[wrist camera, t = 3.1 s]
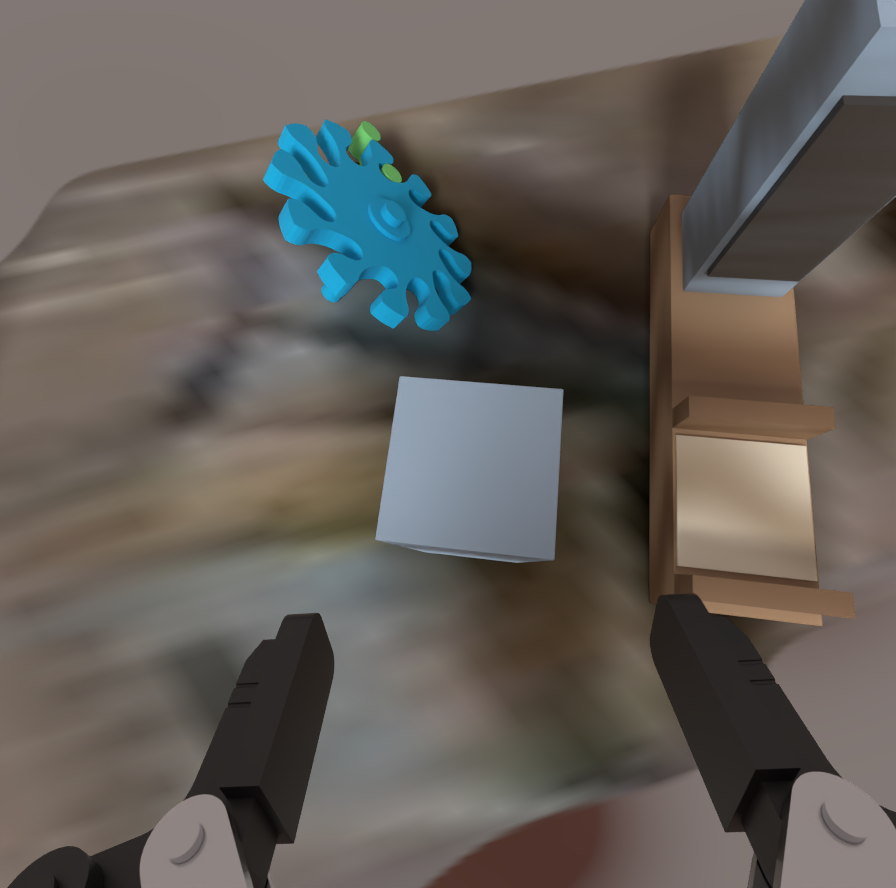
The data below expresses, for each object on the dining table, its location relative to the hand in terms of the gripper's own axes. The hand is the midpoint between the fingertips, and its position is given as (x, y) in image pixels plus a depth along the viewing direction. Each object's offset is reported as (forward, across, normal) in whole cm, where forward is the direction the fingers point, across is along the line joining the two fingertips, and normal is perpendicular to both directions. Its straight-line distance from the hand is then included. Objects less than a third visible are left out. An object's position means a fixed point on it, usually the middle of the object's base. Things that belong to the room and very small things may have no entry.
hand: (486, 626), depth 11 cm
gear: (+18, +3, -5) cm, 19 cm away
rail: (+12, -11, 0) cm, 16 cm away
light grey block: (+9, 0, +3) cm, 9 cm away
